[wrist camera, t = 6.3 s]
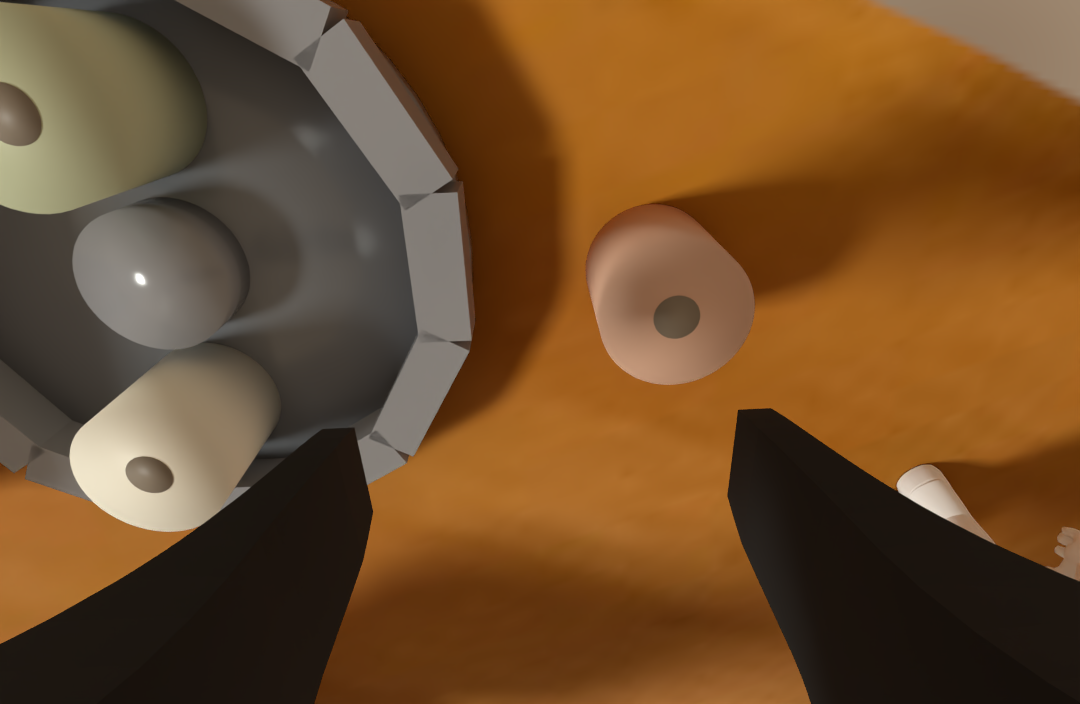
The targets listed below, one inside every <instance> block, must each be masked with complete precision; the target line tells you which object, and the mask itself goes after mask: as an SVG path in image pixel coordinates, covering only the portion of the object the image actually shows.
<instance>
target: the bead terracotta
mask: <svg viewBox="0 0 1080 704" xmlns="http://www.w3.org/2000/svg"><path fill="white" fill-rule="evenodd" d="M586 279H587V284H588V288H589V292H590V296H591V300H592V303H593V307H594V311H595V315H596V319H597V323H598V326H599V330H600V334H601V338H602V341H603V343H604V346H605V348H606V350H607V352H608V354H609V355H610V357H611V358H612V359H613V361H614V362H615V363H616V364H617V365H618V366H619V367H620V368H621V369H623V370H624V371H625V372H627V373H628V374H630V375H632V376H634V377H635V378H638V379H640V380H643V381H646V382H650V383H655V384H664V385H673V384H682V383H687V382H691V381H695V380H698V379H701V378H703V377H705V376H707V375H709V374H711V373H713V372H714V371H716V370H718V369H719V368H720V367H722V366H723V365H724V364H726V363H727V362H728V361H729V360H730V359H731V358H732V357H733V356H734V355H735V354H736V353H737V351H738V350H739V349H740V348H741V346H742V345H743V343H744V341H745V340H746V338H747V336H748V334H749V331H750V328H751V326H752V322H753V317H754V309H755V302H754V293H753V289H752V285H751V283H750V280H749V278H748V276H747V274H746V273H745V271H744V270H743V268H742V267H741V266H740V265H739V263H738V262H737V261H736V260H735V259H734V258H733V257H732V256H731V255H730V254H729V253H728V252H727V251H726V250H725V249H724V248H723V247H722V246H721V245H720V244H719V243H718V242H717V241H716V240H715V239H714V238H713V237H712V236H711V235H710V234H709V233H708V232H707V231H706V230H705V229H704V228H703V227H702V226H701V225H700V224H699V223H698V222H697V221H696V220H695V219H694V218H692V217H691V216H690V215H689V214H687V213H685V212H684V211H682V210H680V209H678V208H675V207H671V206H668V205H662V204H648V205H641V206H637V207H633V208H631V209H628V210H626V211H624V212H622V213H620V214H618V215H617V216H615V217H614V218H612V219H611V220H610V221H609V222H608V223H606V224H605V225H604V226H603V228H602V229H601V230H600V231H599V232H598V234H597V235H596V237H595V238H594V240H593V242H592V244H591V246H590V249H589V252H588V255H587V260H586Z"/></svg>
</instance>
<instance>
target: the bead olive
mask: <svg viewBox="0 0 1080 704" xmlns="http://www.w3.org/2000/svg"><path fill="white" fill-rule="evenodd" d="M206 130H207V108H206V103H205V98H204V94H203V91H202V88H201V85H200V83H199V81H198V79H197V77H196V75H195V73H194V71H193V69H192V68H191V66H190V64H189V63H188V62H187V60H186V59H185V57H184V56H183V55H182V53H181V52H180V51H179V50H178V49H177V48H176V47H175V46H174V45H173V44H172V43H171V42H170V41H169V40H168V39H167V38H166V37H165V36H163V35H162V34H161V33H159V32H158V31H157V30H155V29H154V28H152V27H150V26H149V25H147V24H145V23H144V22H141V21H139V20H137V19H135V18H132V17H129V16H126V15H123V14H118V13H112V12H103V11H92V10H82V9H71V8H60V7H49V6H38V5H27V4H16V3H5V2H0V205H3V206H5V207H8V208H11V209H15V210H18V211H22V212H28V213H35V214H55V213H62V212H66V211H70V210H74V209H76V208H79V207H82V206H85V205H88V204H91V203H93V202H96V201H99V200H102V199H105V198H108V197H110V196H113V195H116V194H119V193H122V192H125V191H128V190H130V189H133V188H136V187H139V186H142V185H145V184H147V183H150V182H153V181H156V180H159V179H162V178H164V177H167V176H170V175H173V174H175V173H177V172H179V171H181V170H182V169H184V168H185V167H187V166H188V165H189V164H190V163H191V162H192V161H193V160H194V158H195V157H196V156H197V155H198V153H199V151H200V149H201V147H202V145H203V142H204V139H205V135H206Z"/></svg>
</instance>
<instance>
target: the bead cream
mask: <svg viewBox="0 0 1080 704" xmlns="http://www.w3.org/2000/svg"><path fill="white" fill-rule="evenodd" d="M280 413H281V401H280V396H279V392H278V390H277V387H276V385H275V383H274V382H273V380H272V378H271V377H270V375H269V374H268V373H267V372H266V371H265V369H264V368H263V367H262V366H261V365H259V364H258V363H257V362H256V361H255V360H253V359H252V358H250V357H249V356H247V355H246V354H244V353H242V352H240V351H238V350H236V349H233V348H231V347H228V346H224V345H220V344H215V343H200V344H198V345H195V346H192V347H188V348H184V349H176V350H173V351H172V352H170V353H169V354H167V355H166V356H165V357H164V358H163V359H162V360H160V361H159V362H158V363H157V364H156V365H154V366H153V367H152V368H151V369H150V370H149V371H147V372H146V373H145V374H144V375H143V376H141V377H140V378H139V379H138V380H137V381H136V382H134V383H133V384H132V385H131V386H130V387H128V388H127V389H126V390H125V391H124V392H123V393H121V394H120V395H119V396H118V397H117V398H115V399H114V400H113V401H112V402H111V403H110V404H108V405H107V406H106V407H105V408H104V409H102V410H101V411H100V412H99V413H98V414H97V415H95V416H94V417H93V418H92V419H91V420H89V421H88V422H87V423H86V424H85V425H84V426H83V427H81V428H80V430H79V431H78V432H77V433H76V435H75V437H74V439H73V441H72V444H71V448H70V465H71V468H72V472H73V474H74V477H75V479H76V481H77V482H78V484H79V486H80V487H81V489H82V490H83V491H84V493H85V494H86V495H87V496H88V497H89V498H90V499H91V500H92V501H93V502H94V503H95V504H96V505H97V506H99V507H100V508H101V509H103V510H104V511H105V512H107V513H108V514H110V515H112V516H114V517H115V518H117V519H119V520H121V521H123V522H126V523H128V524H131V525H134V526H136V527H140V528H144V529H148V530H154V531H165V532H172V531H183V530H188V529H192V528H195V527H198V526H200V525H202V524H203V523H205V522H206V521H207V520H209V519H210V518H211V517H213V516H214V515H215V514H217V513H218V512H219V511H220V509H221V508H222V506H223V505H224V503H225V502H226V500H227V499H228V497H229V496H230V494H231V493H232V491H233V490H234V488H235V487H236V485H237V484H238V482H239V481H240V479H241V478H242V476H243V475H244V473H245V472H246V470H247V469H248V467H249V466H250V464H251V463H252V461H253V460H254V458H255V457H256V455H257V454H258V452H259V451H260V449H261V448H262V446H263V445H264V443H265V442H266V440H267V439H268V437H269V436H270V434H271V433H272V431H273V430H274V428H275V427H276V425H277V423H278V421H279V417H280Z"/></svg>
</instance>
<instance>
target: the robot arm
mask: <svg viewBox="0 0 1080 704" xmlns="http://www.w3.org/2000/svg"><path fill="white" fill-rule="evenodd" d="M728 499H729V503H730V506H731V510H732V513H733V517H734V520H735V523H736V526H737V530H738V533H739V536H740V539H741V542H742V545H743V547H744V549H745V552H746V554H747V556H748V558H749V561H750V563H751V565H752V567H753V570H754V572H755V574H756V576H757V578H758V581H759V583H760V585H761V587H762V589H763V591H764V594H765V596H766V598H767V600H768V602H769V604H770V607H771V609H772V611H773V613H774V615H775V617H776V620H777V622H778V624H779V626H780V628H781V630H782V633H783V635H784V637H785V639H786V641H787V644H788V646H789V648H790V650H791V652H792V654H793V657H794V659H795V662H796V664H797V667H798V669H799V671H800V674H801V676H802V679H803V681H804V684H805V687H806V690H807V693H808V696H809V699H810V702H811V704H1080V581H1078V580H1075V579H1073V578H1070V577H1068V576H1065V575H1063V574H1061V573H1058V572H1056V571H1054V570H1051V569H1049V568H1047V567H1045V566H1042V565H1040V564H1038V563H1035V562H1033V561H1031V560H1029V559H1026V558H1024V557H1022V556H1020V555H1017V554H1015V553H1013V552H1011V551H1008V550H1006V549H1004V548H1002V547H1000V546H998V545H996V544H994V543H992V542H989V541H987V540H985V539H983V538H981V537H979V536H977V535H975V534H974V533H972V532H970V531H968V530H966V529H964V528H962V527H960V526H958V525H956V524H954V523H952V522H950V521H948V520H946V519H944V518H942V517H941V516H939V515H937V514H935V513H933V512H931V511H930V510H928V509H926V508H924V507H922V506H921V505H919V504H917V503H916V502H914V501H912V500H911V499H909V498H907V497H906V496H904V495H902V494H901V493H899V492H897V491H896V490H894V489H892V488H891V487H889V486H887V485H885V484H884V483H882V482H881V481H879V480H878V479H876V478H874V477H873V476H871V475H870V474H868V473H867V472H865V471H863V470H862V469H860V468H859V467H857V466H856V465H854V464H853V463H851V462H850V461H848V460H847V459H845V458H844V457H842V456H841V455H839V454H838V453H836V452H835V451H834V450H832V449H831V448H829V447H828V446H826V445H825V444H823V443H822V442H820V441H819V440H818V439H816V438H815V437H813V436H812V435H810V434H809V433H807V432H806V431H805V430H803V429H802V428H800V427H799V426H797V425H796V424H794V423H793V422H792V421H790V420H789V419H787V418H786V417H784V416H782V415H781V414H779V413H778V412H776V411H774V410H773V409H771V408H769V409H747V410H738V415H737V423H736V431H735V439H734V447H733V455H732V464H731V472H730V480H729V488H728ZM372 515H373V509H372V505H371V500H370V495H369V491H368V486H367V482H366V477H365V473H364V468H363V464H362V459H361V455H360V450H359V446H358V441H357V437H356V432H355V428H354V427H352V428H330V429H321V430H320V431H319V432H317V433H316V434H315V435H313V436H312V437H311V438H310V439H308V440H307V441H306V442H305V443H303V444H302V445H301V446H300V447H299V448H297V449H296V450H295V451H294V452H293V453H291V454H290V455H289V456H288V457H287V458H285V459H284V460H283V461H282V462H281V463H279V464H278V465H277V466H276V467H275V468H273V469H272V470H271V471H270V472H269V473H267V474H266V475H265V476H264V477H262V478H261V479H260V480H259V481H258V482H256V483H255V484H254V485H253V486H252V487H250V488H249V489H248V490H247V491H245V492H244V493H243V494H242V495H240V496H239V497H238V498H236V499H235V500H234V501H233V502H231V503H230V504H229V505H227V506H226V507H225V508H223V509H222V510H221V511H219V512H218V513H217V514H215V515H214V516H213V517H211V518H210V519H209V520H207V521H206V522H205V523H203V524H202V525H201V526H199V527H198V528H197V529H196V530H194V531H193V532H191V533H190V534H189V535H187V536H186V537H184V538H183V539H181V540H180V541H179V542H177V543H176V544H174V545H173V546H171V547H170V548H168V549H167V550H165V551H164V552H162V553H161V554H159V555H158V556H156V557H155V558H153V559H151V560H150V561H148V562H147V563H145V564H144V565H142V566H141V567H139V568H137V569H136V570H134V571H133V572H131V573H129V574H128V575H126V576H125V577H123V578H121V579H120V580H118V581H116V582H114V583H113V584H111V585H109V586H107V587H106V588H104V589H102V590H100V591H98V592H97V593H95V594H93V595H91V596H90V597H88V598H86V599H84V600H83V601H81V602H79V603H77V604H76V605H74V606H72V607H70V608H68V609H67V610H65V611H63V612H61V613H60V614H58V615H56V616H54V617H52V618H51V619H49V620H47V621H45V622H43V623H41V624H39V625H37V626H35V627H33V628H31V629H29V630H27V631H25V632H23V633H21V634H19V635H17V636H15V637H14V638H12V639H10V640H8V641H6V642H3V643H1V644H0V704H314V702H315V699H316V696H317V692H318V689H319V686H320V683H321V679H322V676H323V673H324V670H325V667H326V665H327V662H328V659H329V656H330V653H331V650H332V648H333V645H334V642H335V639H336V636H337V634H338V631H339V628H340V625H341V622H342V620H343V617H344V614H345V611H346V608H347V605H348V603H349V600H350V597H351V594H352V591H353V588H354V585H355V583H356V580H357V577H358V574H359V571H360V568H361V565H362V562H363V558H364V554H365V549H366V545H367V540H368V535H369V530H370V525H371V520H372Z"/></svg>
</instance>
